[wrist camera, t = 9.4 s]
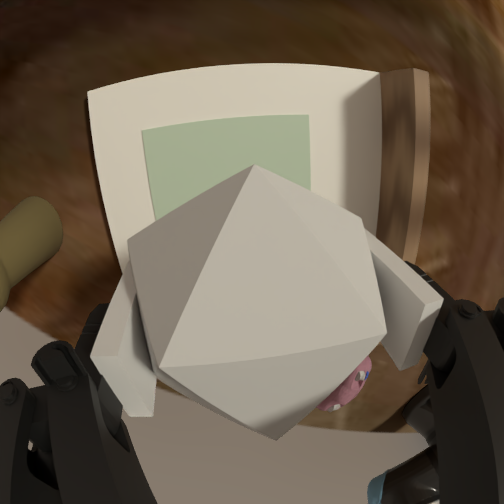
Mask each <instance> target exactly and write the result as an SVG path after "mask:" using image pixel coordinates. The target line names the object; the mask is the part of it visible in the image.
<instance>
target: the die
mask: <svg viewBox="0 0 504 504" xmlns="http://www.w3.org/2000/svg"><path fill="white" fill-rule="evenodd" d="M127 244H128V252H129V260H130V267H131V273H132V277H133V281H134V285H135V290H136V294H137V300H138V305H139V311H140V316H141V321H142V326H143V330H144V335H145V340H146V344H147V348H148V353H149V357H150V361H151V365H152V369H153V372H154V374H155V375H156V376H157V379H159V380H160V381H162V382H163V383H165V384H166V385H168V386H170V387H171V388H173V389H175V390H176V391H178V392H180V393H181V394H183V395H185V396H186V397H188V398H190V399H192V400H193V401H195V402H197V403H199V404H200V405H202V406H204V407H206V408H208V409H210V410H212V411H213V412H215V413H217V414H219V415H221V416H223V417H225V418H227V419H229V420H231V421H233V422H235V423H237V424H240V425H242V426H244V427H246V428H248V429H250V430H253V431H255V432H257V433H259V434H261V435H264V436H266V437H269V438H271V439H273V440H278V439H279V438H280V437H281V436H283V435H284V434H285V433H286V432H288V431H289V430H290V429H291V428H293V427H294V426H295V425H296V424H297V423H299V422H300V421H301V420H302V419H303V418H304V417H305V416H307V415H308V414H309V413H310V412H311V411H312V410H313V409H315V408H316V407H317V406H318V405H319V404H320V403H321V402H322V401H323V400H324V399H325V398H326V397H328V396H329V395H330V394H331V393H332V392H333V391H334V390H335V389H336V388H337V387H338V386H339V385H340V384H341V383H342V382H343V381H344V380H345V379H346V378H347V377H348V376H349V375H350V374H351V373H352V372H353V371H354V370H355V369H356V367H357V366H358V365H359V364H360V363H361V362H362V361H363V360H364V359H365V358H366V357H367V356H368V355H369V353H370V352H371V351H372V350H373V349H374V348H375V347H376V345H377V344H378V343H379V342H380V341H381V340H382V339H383V337H384V336H385V335H386V334H387V329H386V323H385V318H384V312H383V307H382V302H381V297H380V292H379V287H378V282H377V278H376V273H375V269H374V265H373V260H372V256H371V252H370V248H369V244H368V241H367V237H366V233H365V230H364V226H363V222H362V219H361V218H360V217H359V216H357V215H355V214H353V213H351V212H349V211H348V210H346V209H344V208H342V207H340V206H338V205H337V204H335V203H333V202H331V201H329V200H327V199H325V198H323V197H321V196H319V195H317V194H315V193H313V192H312V191H310V190H308V189H306V188H304V187H302V186H300V185H298V184H295V183H293V182H291V181H289V180H287V179H285V178H283V177H281V176H279V175H277V174H275V173H273V172H270V171H268V170H266V169H264V168H262V167H260V166H257V165H255V164H253V165H252V166H250V167H248V168H246V169H244V170H242V171H240V172H239V173H237V174H235V175H233V176H231V177H229V178H228V179H226V180H224V181H222V182H220V183H219V184H217V185H215V186H213V187H212V188H210V189H208V190H206V191H205V192H203V193H201V194H199V195H198V196H196V197H194V198H193V199H191V200H189V201H188V202H186V203H184V204H183V205H181V206H179V207H178V208H176V209H174V210H173V211H171V212H169V213H168V214H166V215H165V216H163V217H161V218H160V219H158V220H157V221H155V222H154V223H152V224H150V225H149V226H147V227H146V228H144V229H143V230H141V231H140V232H138V233H136V234H135V235H133V236H132V237H130V238H129V239H127Z"/></svg>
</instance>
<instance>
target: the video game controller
mask: <svg viewBox="0 0 504 504" xmlns="http://www.w3.org/2000/svg"><path fill="white" fill-rule="evenodd" d="M370 370H371V360H370V358H369V356H367V357H366V358H365V359H364V360H363V361H362V362H361V363H360V364H359V365H358V366H357V367H356V369H355V370H354V371H353V372H352V373H351V374H350V375H349V376H348V377H347V378H346V379H345V380H344V381H343V382H342V383H341V384H340V385H339V386H338V387H337V388H336V389H335V390H334V391H333V392H332V393H331V394H330V395H329V396H328V397H326V398H325V399H324V400H323V401H322V402H321V403H320V404H319V405H318V406H317V407H316V408H318V409H320V410H323V411H326V410H327V411H329V412H331V411H333V410H336V409H339V408H340V407H342V406H344V405H345V404H347V403H348V402H350V401H351V400H352V399H353V398H354V397H355V396H356V395H357V394H358V393H359V391H360V390H361V389H362V387H363V385H364V383H365V381H366V378H367V377H368V374H369V372H370Z"/></svg>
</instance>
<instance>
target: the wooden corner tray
mask: <svg viewBox="0 0 504 504" xmlns="http://www.w3.org/2000/svg"><path fill="white" fill-rule="evenodd" d="M88 104H89V115H90V124H91V132H92V140H93V147H94V154H95V160H96V166H97V171H98V177H99V182H100V187H101V192H102V197H103V202H104V206H105V211H106V215H107V219H108V223H109V227H110V231H111V235H112V239H113V243H114V246H115V250H116V253H117V257H118V260H119V264H120V267H121V270H122V274H123V272H124V270H125V268H126V266H127V264H128V262H129V252H128V244H127V239H129V238H130V237H132V236H133V235H135V234H136V233H138V232H140V231H141V230H143V229H144V228H146V227H147V226H149V225H150V224H152V223H154V222H155V221H157V220H158V219H160V218H161V217H163V216H165V215H166V214H168V213H169V212H171V211H173V210H174V209H176V208H178V207H179V206H181V205H183V204H184V203H186V202H188V201H189V200H191V199H193V198H194V197H196V196H198V195H199V194H201V193H203V192H205V191H206V190H208V189H210V188H212V187H213V186H215V185H217V184H219V183H220V182H222V181H224V180H226V179H228V178H229V177H231V176H233V175H235V174H237V173H239V172H240V171H242V170H244V169H246V168H248V167H250V166H252V165H253V164H255V165H257V166H260V167H262V168H264V169H266V170H268V171H270V172H273V173H275V174H277V175H279V176H281V177H283V178H285V179H287V180H289V181H291V182H293V183H295V184H298V185H300V186H302V187H304V188H306V189H308V190H310V191H312V192H313V193H315V194H317V195H319V196H321V197H323V198H325V199H327V200H329V201H331V202H333V203H335V204H337V205H338V206H340V207H342V208H344V209H346V210H348V211H349V212H351V213H353V214H355V215H357V216H359V217H360V218H361V219H362V222H363V226H364V228H365V229H366V230H367V231H369V232H370V233H371V234H372V235H373V236H375V237H376V238H377V239H378V240H379V241H381V242H382V243H383V244H384V245H385V246H387V247H388V248H389V249H390V250H391V251H392V252H394V253H395V254H396V255H397V256H398V257H399V258H400V259H402V260H403V261H408V262H410V263H412V264H414V265H415V260H416V255H417V250H418V245H419V240H420V234H421V228H422V222H423V215H424V208H425V200H426V191H427V181H428V170H429V154H430V88H429V73H428V72H426V71H422V70H419V69H415V68H409V69H401V70H394V71H388V72H381V73H378V72H372V71H366V70H359V69H352V68H344V67H334V66H323V65H309V64H280V63H266V64H237V65H222V66H211V67H202V68H194V69H186V70H179V71H173V72H167V73H161V74H156V75H151V76H146V77H141V78H137V79H132V80H128V81H124V82H120V83H116V84H112V85H109V86H105V87H101V88H98V89H95V90H91V91H88ZM380 344H382V343H381V342H379V343H378V344H377V345H380ZM377 345H376V346H377ZM156 382H162V381H160V380H159V379H156Z"/></svg>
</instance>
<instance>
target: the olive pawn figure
mask: <svg viewBox="0 0 504 504" xmlns="http://www.w3.org/2000/svg"><path fill="white" fill-rule="evenodd" d="M62 239H63V229H62V223H61V220H60V218H59V215H58V213H57V212H56V210H55V209H54V208H53V206H52V205H51V204H50V203H48V202H47V201H46V200H45V199H42V198H40V197H37V196H35V197H28V198H26V199H24V200H22V201H21V202H20V203H19V204H18V205H17V206H16V207H15V208H14V209H13V210H11V211H10V212H9V213H8V214H7V215H6V216H5V217H4V218H3V219H2V220H1V221H0V312H1V311H2V309H3V308H4V306H5V305H6V303H7V300H8V298H9V293H10V289H11V288H12V287H13V286H15V285H16V284H17V283H18V282H20V281H21V280H22V279H23V278H25V277H26V276H27V275H28V274H30V273H31V272H32V271H34V270H35V269H36V268H37V267H39V266H40V265H41V264H43V263H44V262H45V261H47V260H48V259H49V258H51V257H52V256H54V255H55V254H56V253H57V252H58V251H59V249H60V246H61V244H62Z"/></svg>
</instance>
